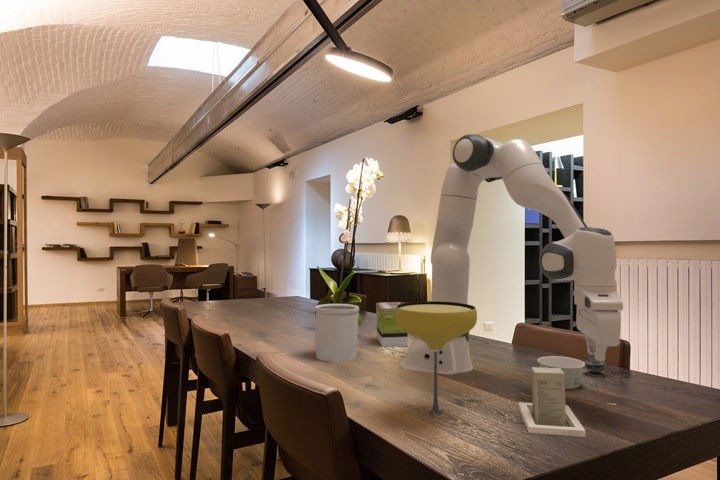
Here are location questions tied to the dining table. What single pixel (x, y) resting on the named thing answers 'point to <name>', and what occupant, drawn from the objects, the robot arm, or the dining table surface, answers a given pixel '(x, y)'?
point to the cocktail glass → (436, 326)
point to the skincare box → (548, 396)
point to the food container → (565, 368)
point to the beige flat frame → (574, 430)
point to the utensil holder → (336, 332)
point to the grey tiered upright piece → (594, 367)
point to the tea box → (389, 326)
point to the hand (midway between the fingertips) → (596, 357)
